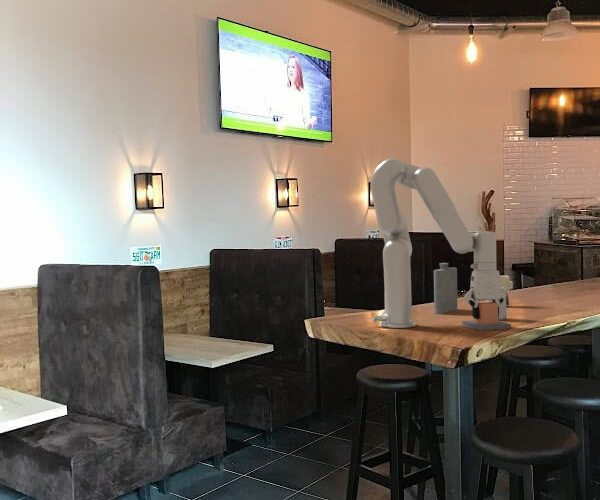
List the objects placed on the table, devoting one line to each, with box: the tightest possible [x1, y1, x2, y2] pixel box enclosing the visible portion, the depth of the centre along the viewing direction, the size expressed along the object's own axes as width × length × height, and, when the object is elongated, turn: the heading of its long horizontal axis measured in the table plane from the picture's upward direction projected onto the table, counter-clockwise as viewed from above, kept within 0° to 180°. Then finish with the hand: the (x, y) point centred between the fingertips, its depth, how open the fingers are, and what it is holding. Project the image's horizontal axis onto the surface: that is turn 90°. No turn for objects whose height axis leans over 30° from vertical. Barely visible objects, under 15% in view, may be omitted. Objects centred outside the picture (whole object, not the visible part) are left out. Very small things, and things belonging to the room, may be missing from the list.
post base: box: [461, 319, 512, 332], centre depth 225 cm, size 12×12×6 cm
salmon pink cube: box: [473, 300, 499, 324], centre depth 225 cm, size 6×6×7 cm
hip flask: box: [433, 262, 458, 315], centre depth 265 cm, size 16×4×20 cm, turn 139°
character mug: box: [500, 275, 514, 306], centre depth 275 cm, size 11×7×13 cm, turn 41°
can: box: [484, 287, 507, 321], centre depth 241 cm, size 8×8×12 cm
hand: (485, 317), depth 225 cm, fingers open, 6 cm apart
